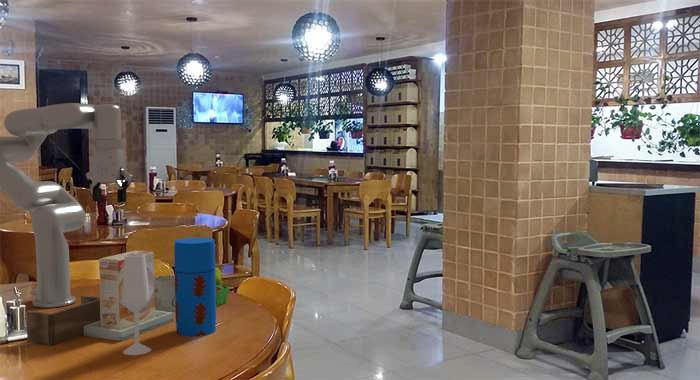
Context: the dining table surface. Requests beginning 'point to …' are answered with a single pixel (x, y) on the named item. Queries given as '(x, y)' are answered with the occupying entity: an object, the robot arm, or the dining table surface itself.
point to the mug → (164, 293)
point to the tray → (127, 333)
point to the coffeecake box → (111, 292)
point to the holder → (62, 322)
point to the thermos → (195, 286)
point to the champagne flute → (135, 295)
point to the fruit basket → (220, 289)
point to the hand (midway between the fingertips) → (109, 201)
